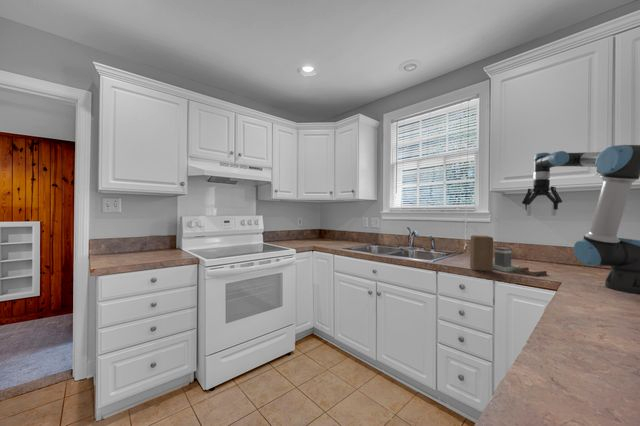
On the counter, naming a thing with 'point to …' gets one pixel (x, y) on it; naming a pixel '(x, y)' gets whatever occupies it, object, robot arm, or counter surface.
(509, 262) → the caddy
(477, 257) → the wooden block
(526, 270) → the cradle
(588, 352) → the counter surface
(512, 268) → the tray
